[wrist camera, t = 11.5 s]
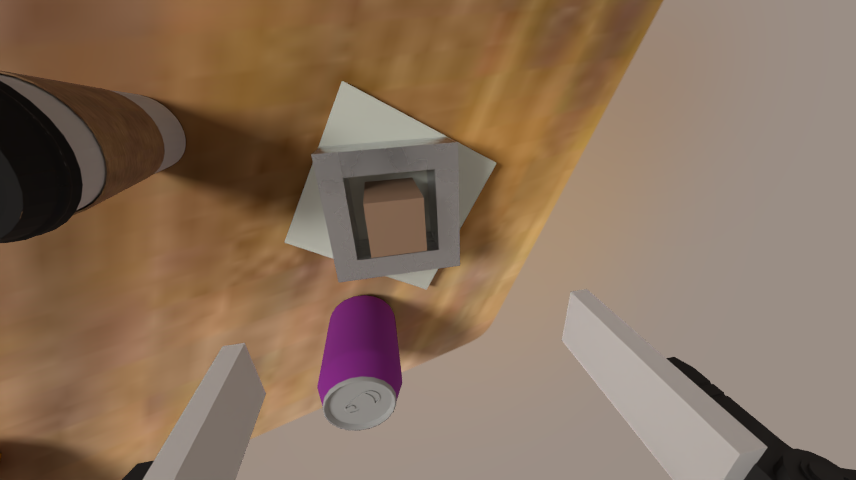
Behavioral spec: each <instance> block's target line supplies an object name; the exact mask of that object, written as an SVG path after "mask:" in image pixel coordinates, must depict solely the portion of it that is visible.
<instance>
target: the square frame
mask: <svg viewBox="0 0 856 480" xmlns="http://www.w3.org/2000/svg"><path fill="white" fill-rule="evenodd" d="M311 156H312V161H313V165H314V170H315V175H316V179H317V184H318V188H319V193H320V198H321V202H322V207H323V212H324V216H325V221H326V226H327V230H328V235H329V239H330V244H331V249H332V253H333V258H334V263H335V267H336V272H337V276H338V281H339V282H345V281H353V280H360V279H367V278H374V277H381V276H388V275H396V274H403V273H410V272H417V271H424V270H431V269H439V268H446V267H453V266H460V233H459V166H458V142H457V141H455V140H452V139H450V138H448V137H446V136H445V137H433V138H420V139H408V140H396V141H383V142H371V143H359V144H346V145H334V146H322V147H319V148H318V149H317V150H316V151H314V152H313V153H312V154H311ZM421 170H427V184H428V200H429V217H430V231H429V232H426V242H427V251H422V252H414V253H406V254H399V255H391V256H383V257H375V258H371V252H370V245H369V239H364V240H359V237H358V231H357V225H356V219H355V213H354V207H353V201H352V195H351V190H350V184H349V178H348V177H358V176H368V175H379V174H389V173H400V172H410V171H421Z"/></svg>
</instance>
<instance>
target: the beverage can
mask: <svg viewBox="0 0 856 480" xmlns="http://www.w3.org/2000/svg"><path fill="white" fill-rule="evenodd" d="M401 385H402V375H401V366H400V357H399V349H398V340H397V331H396V322H395V316H394V313H393V311H392V309H391V307H390V306H389V305H388V304H387V303H386V302H385V301H383V300H381V299H379V298H376V297H373V296H366V295H363V296H355V297H352V298H349V299H347V300H344V301H343V302H342V303H340V304H339V305H338V306H337V307H336V308H335V310H334V311H333V313H332V315H331V318H330V323H329V328H328V333H327V338H326V344H325V349H324V355H323V360H322V365H321V371H320V376H319V382H318V391H319V395H320V399H321V402H322V406H323V411H324V415H325V418H326V419H327V420H328V421H329V422H330V423H331V424H332V425H334V426H336V427H338V428H341V429H345V430H364V429H370V428H372V427H375V426H377V425H379V424H381V423H382V422H384V421H385V420H387V419H388V418H389V416H390V415H391V414H392V413H393V412H394V409H395V406H396V401H397V398H398V394H399V391H400V388H401Z"/></svg>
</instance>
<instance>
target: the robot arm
mask: <svg viewBox="0 0 856 480" xmlns="http://www.w3.org/2000/svg"><path fill="white" fill-rule="evenodd" d="M562 341H563V342H564V344H565V345H566V346H567V348H568V349H569V350H570V351H571V353H572V354H573V355H574V356H575V358H576V359H577V360H578V361H579V363H580V364H581V365H582V366H583V368H584V369H585V370H586V371H587V372H588V374H589V375H590V377H591V378H592V379H593V380H594V381H595V383H596V384H597V385H598V386H599V388H600V389H601V390H602V391H603V393H604V394H605V395H606V397H607V398H608V399H609V400H610V402H611V403H612V404H613V405H614V407H615V408H616V409H617V410H618V412H619V413H620V414H621V415H622V417H623V418H624V419H625V420H626V422H627V423H628V424H629V426H630V427H631V428H632V429H633V431H634V432H635V433H636V434H637V436H638V437H639V438H640V439H641V441H642V442H643V443H644V444H645V446H646V447H647V448H648V449H649V451H650V452H651V453H652V454H653V455H654V457H655V458H656V459H657V461H658V462H659V463H660V464H661V466H662V467H663V468H664V469H665V471H666V472H667V473H668V475H669V476H670V477H671V478H672V480H856V470H851V469H844V468H840V467H838V466H837V465H835V464H833V463H832V462H830V461H829V460H827V459H825V458H823V457H821V456H818V455H816V454H814V453H812V452H809V451H804V450H800V449H793V448H791V447H789V446H788V445H787V444H786V443H784V442H783V441H781V440H780V439H779V438H778V437H777V436H775V435H774V434H773V433H772V432H771V431H769V430H768V429H767V428H766V427H765V426H763V425H762V424H761V423H760V422H759V421H757V420H756V419H755V418H754V417H753V416H751V415H750V414H749V413H748V412H747V411H745V410H744V409H743V408H742V407H740V406H739V405H738V404H737V403H736V402H734V401H733V400H732V399H731V398H730V397H728V396H725V395H724V392H722V391H721V390H720V389H718V387H716V386H715V385H714V384H711V383H710V381H709V380H708V379H707V378H705V377H704V376H703V375H702V374H701V373H699V372H698V371H697V370H696V369H695V368H693V367H691V366H690V365H688V364H686V363H684V362H682V361H681V360H679V359H677V358H675V357H671V358H665V357H664V356H663V355H662V354H661V353H659V352H658V351H657V350H656V349H655V348H654V347H653V346H651V345H650V344H649V343H648V342H646V340H645V339H643V338H642V337H641V336H640V335H639V334H638V333H637V332H635V331H634V330H633V329H632V328H631V327H630V326H628V325H627V324H626V323H625V322H624V321H623V320H622V319H621V318H619V317H618V316H617V315H616V314H615V313H614V312H613V311H611V310H610V309H609V308H608V307H607V306H606V305H605V304H603V303H602V302H601V301H600V300H599V299H598V298H597V297H595V296H594V295H593V294H592V293H591V292H590V291H589V290H587V289H585V290H578V291H572V292H571V293H570V298H569V304H568V310H567V315H566V321H565V326H564V332H563V337H562ZM265 395H266V393H265V390H264V388H263V386H262V383H261V381H260V378H259V376H258V374H257V371H256V369H255V366H254V364H253V362H252V359H251V357H250V354H249V352H248V350H247V347H246V345H245V343H241V344H235V345H228V346H223V347H222V348H221V350H220V352H219V353H218V355H217V357H216V358H215V360H214V362H213V363H212V365H211V367H210V368H209V370H208V372H207V373H206V375H205V377H204V378H203V380H202V382H201V383H200V385H199V387H198V388H197V390H196V392H195V393H194V395H193V397H192V398H191V400H190V402H189V403H188V405H187V407H186V408H185V410H184V412H183V413H182V415H181V417H180V418H179V420H178V422H177V423H176V425H175V427H174V428H173V430H172V432H171V433H170V435H169V437H168V438H167V440H166V442H165V443H164V445H163V447H162V448H161V450H160V452H159V453H158V455H157V457H156V458H155V460H154V461H149V462H144V463H139V464H137V465H136V466H135V467H134V468H133V469H132V470H131V471H130V472H129V473H128V474H127V475H126V476H125V477H124V478H123V479H122V480H235V479H236V476H237V474H238V471H239V468H240V465H241V462H242V459H243V457H244V454H245V451H246V448H247V445H248V443H249V440H250V437H251V434H252V431H253V429H254V426H255V423H256V420H257V417H258V414H259V412H260V409H261V406H262V403H263V400H264V398H265Z"/></svg>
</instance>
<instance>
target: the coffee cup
mask: <svg viewBox="0 0 856 480" xmlns="http://www.w3.org/2000/svg"><path fill="white" fill-rule="evenodd" d="M185 146H186V139H185V134H184V131H183V129H182V126H181V124H180V123H179V121H178V120H177V118H176V117H175V116H174V115H173V114H172V113H171V111H169V110H168V109H167V108H166V107H165V106H163V105H162V104H160V103H159V102H157V101H155V100H153V99H151V98H148V97H145V96H141V95H137V94H131V93H124V92H117V91H110V90H105V89H101V88H95V87H90V86H84V85H78V84H73V83H67V82H61V81H56V80H50V79H44V78H39V77H33V76H27V75H22V74H16V73H10V72H5V71H0V243H9V242H15V241H21V240H26V239H29V238H32V237H34V236H37V235H42V234H44V233H47V232H50V231H53V230H55V229H57V228H58V227H60V226H61V225H63V224H64V223H66V222H67V221H68V220H69V219H70V218H71V216H72V215H74V214H77V213H80V212H82V211H85V210H87V209H89V208H91V207H93V206H95V205H97V204H98V203H100V202H102V201H104V200H106V199H108V198H110V197H112V196H114V195H116V194H118V193H119V192H121V191H123V190H125V189H127V188H129V187H131V186H133V185H135V184H137V183H139V182H140V181H142V180H144V179H146V178H148V177H150V176H151V175H153V174H155V173H157V172H159V171H161V170H164V169H166V168H168V167H170V166H172V165H173V164H175V163H176V162H178V161H179V159H180V158H181V157H182V155H183V153H184V151H185Z"/></svg>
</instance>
